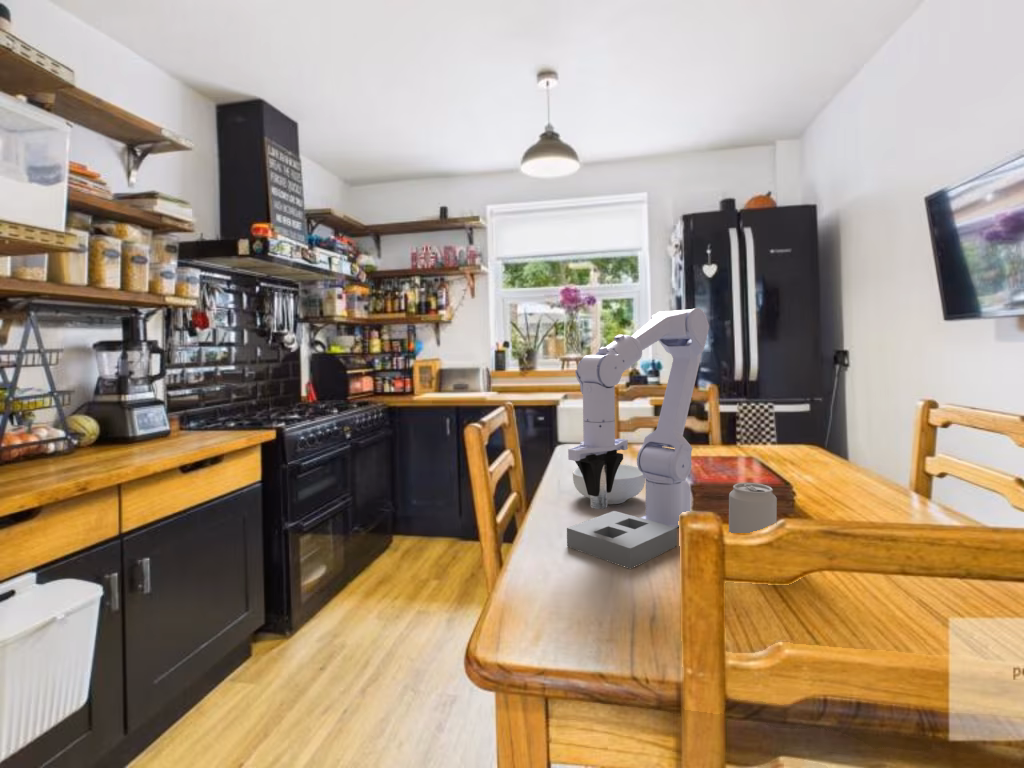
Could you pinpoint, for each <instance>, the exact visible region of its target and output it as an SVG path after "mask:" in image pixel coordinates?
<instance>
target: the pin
mask: <svg viewBox="0 0 1024 768" xmlns="http://www.w3.org/2000/svg"><path fill="white" fill-rule="evenodd" d="M590 508H592V509H597V510H601V509H602V510H603V509H606V508H608V504H607V466H606V463H604V466H603V469H602V472H601V478H600V492H599V496H597V497H595V496H591V498H590Z"/></svg>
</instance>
